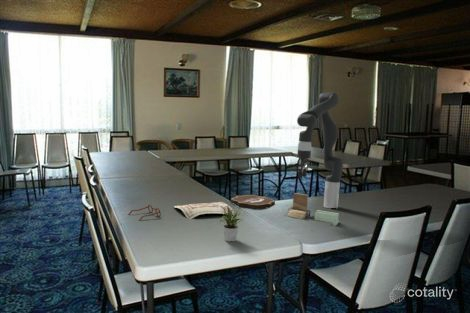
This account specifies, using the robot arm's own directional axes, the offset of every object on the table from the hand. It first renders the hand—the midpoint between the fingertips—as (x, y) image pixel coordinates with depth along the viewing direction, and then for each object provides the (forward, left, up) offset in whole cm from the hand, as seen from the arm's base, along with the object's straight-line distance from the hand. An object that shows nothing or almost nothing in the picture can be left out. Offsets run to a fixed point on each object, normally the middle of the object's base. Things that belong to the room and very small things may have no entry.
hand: (302, 177), depth 216 cm
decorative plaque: (-13, -35, -24) cm, 44 cm away
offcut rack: (+3, 0, -23) cm, 23 cm away
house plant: (+60, -16, -23) cm, 66 cm away
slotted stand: (+1, +16, -23) cm, 28 cm away
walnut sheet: (0, 0, -22) cm, 22 cm away
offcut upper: (+6, 0, -20) cm, 21 cm away
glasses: (+52, -70, -24) cm, 91 cm away
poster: (+24, -50, -24) cm, 60 cm away
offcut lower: (+5, 0, -22) cm, 22 cm away
